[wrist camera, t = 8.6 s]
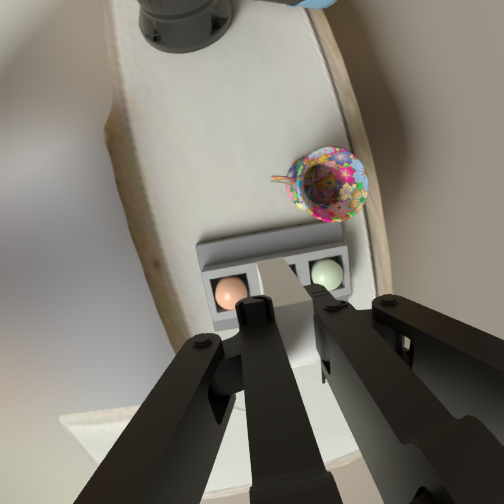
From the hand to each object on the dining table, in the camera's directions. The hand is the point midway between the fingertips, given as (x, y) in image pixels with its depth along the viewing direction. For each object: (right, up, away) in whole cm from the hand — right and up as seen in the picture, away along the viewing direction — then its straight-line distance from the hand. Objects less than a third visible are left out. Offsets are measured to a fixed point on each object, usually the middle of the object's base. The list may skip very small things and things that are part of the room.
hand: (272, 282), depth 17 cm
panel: (+2, -2, +31) cm, 31 cm away
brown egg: (-4, -4, +28) cm, 29 cm away
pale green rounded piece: (+10, -1, +29) cm, 30 cm away
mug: (+7, +12, +28) cm, 31 cm away
